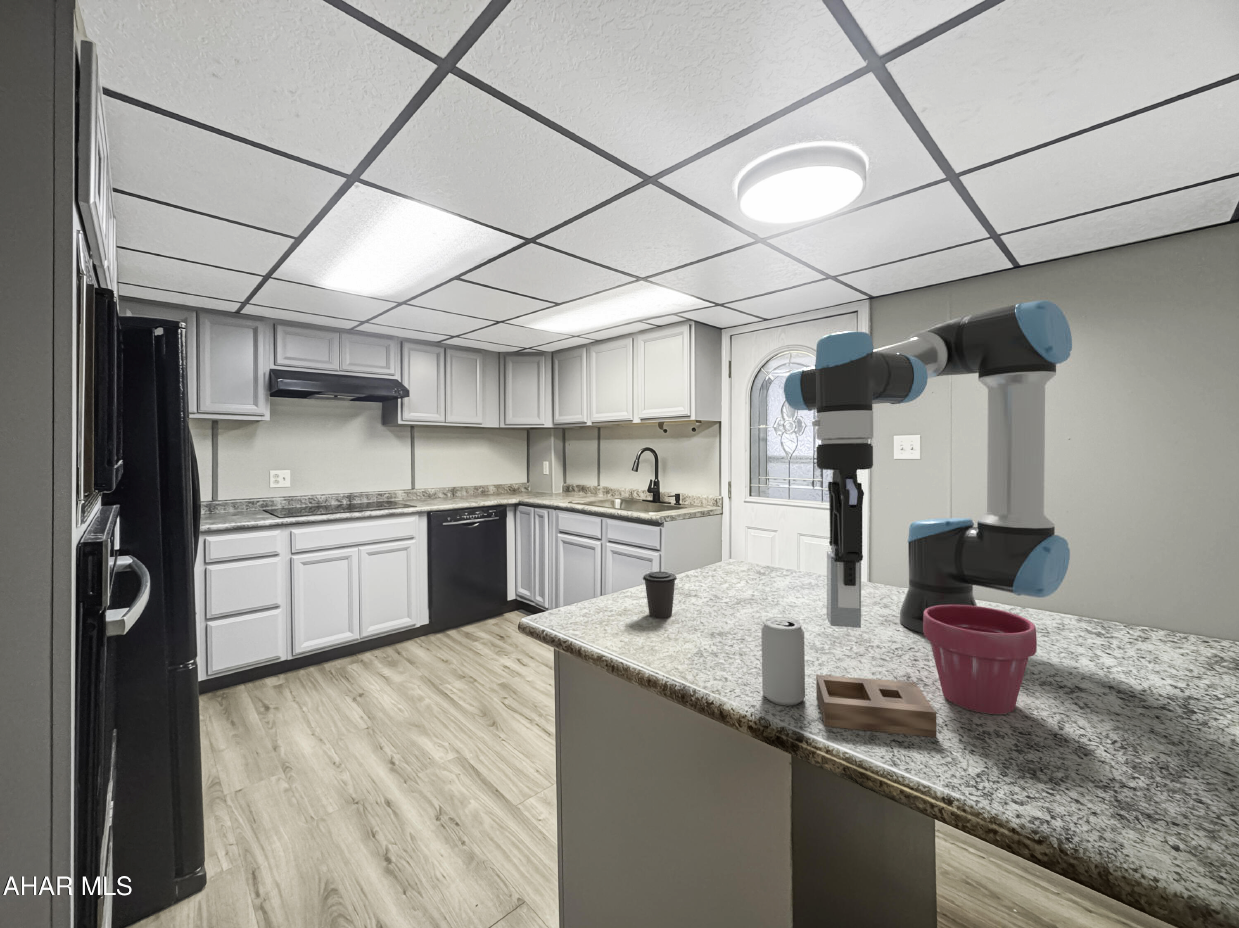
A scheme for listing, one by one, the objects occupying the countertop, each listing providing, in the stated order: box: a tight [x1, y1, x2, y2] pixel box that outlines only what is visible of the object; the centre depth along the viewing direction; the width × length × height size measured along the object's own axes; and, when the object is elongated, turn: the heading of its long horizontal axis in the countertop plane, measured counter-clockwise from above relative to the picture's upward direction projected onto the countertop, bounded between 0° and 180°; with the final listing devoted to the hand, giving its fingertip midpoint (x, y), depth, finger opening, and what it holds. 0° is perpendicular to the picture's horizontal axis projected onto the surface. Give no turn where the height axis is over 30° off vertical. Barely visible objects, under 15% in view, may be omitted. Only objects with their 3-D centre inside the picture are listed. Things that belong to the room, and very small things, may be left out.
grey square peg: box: [826, 544, 862, 629], centre depth 75 cm, size 4×4×11 cm
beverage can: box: [760, 616, 806, 707], centre depth 80 cm, size 6×6×12 cm
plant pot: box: [923, 605, 1038, 715], centre depth 79 cm, size 14×14×13 cm
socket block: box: [815, 674, 937, 738], centre depth 75 cm, size 14×9×3 cm, turn 76°
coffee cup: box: [642, 571, 678, 620], centre depth 122 cm, size 8×8×10 cm
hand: (845, 601), depth 75 cm, fingers closed on grey square peg, 4 cm apart
